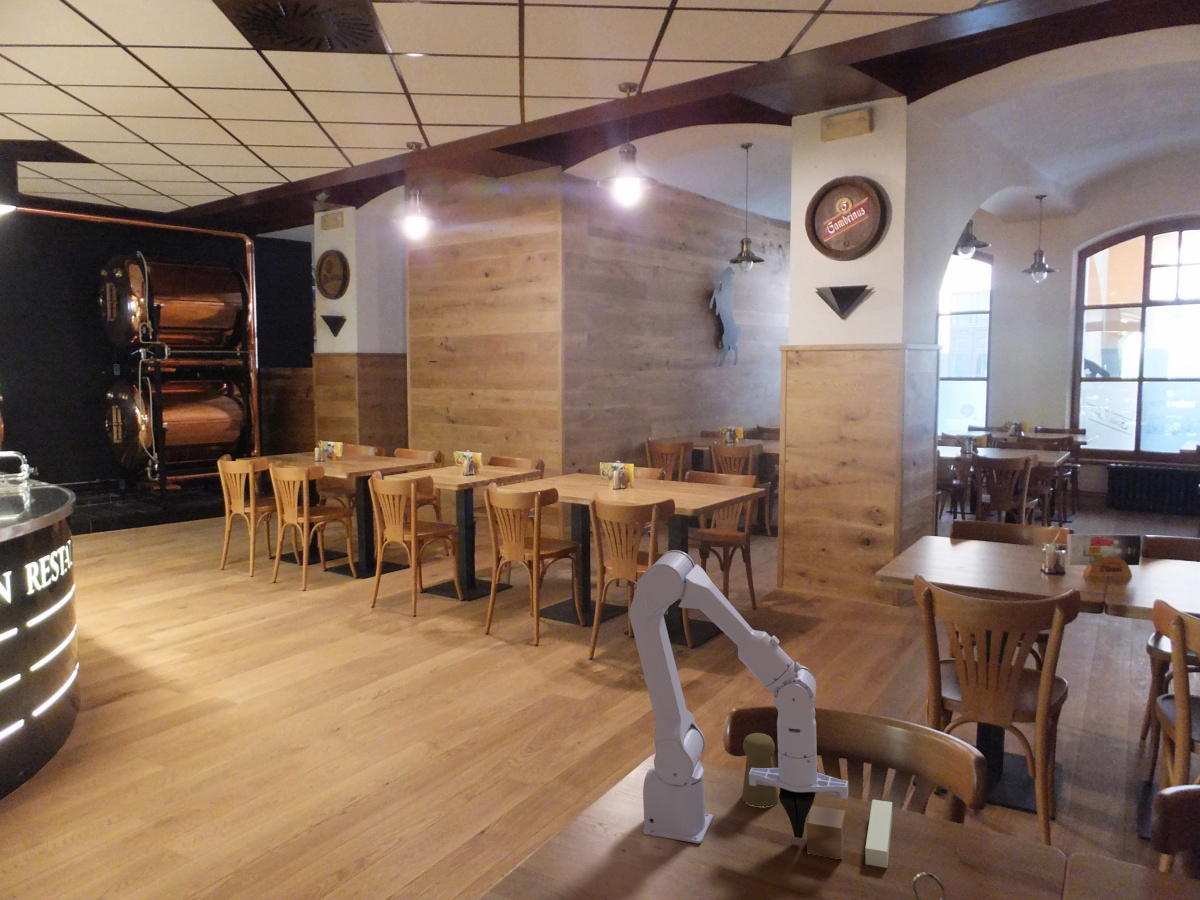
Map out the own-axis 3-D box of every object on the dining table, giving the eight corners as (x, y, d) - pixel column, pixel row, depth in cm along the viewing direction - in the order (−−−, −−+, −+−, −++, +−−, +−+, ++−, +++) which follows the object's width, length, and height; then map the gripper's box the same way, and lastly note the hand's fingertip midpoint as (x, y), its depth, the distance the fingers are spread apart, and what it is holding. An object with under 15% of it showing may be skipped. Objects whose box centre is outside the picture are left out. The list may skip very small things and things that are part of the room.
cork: (778, 809, 138) (777, 745, 137) (741, 807, 140) (739, 744, 138) (778, 790, 144) (777, 729, 143) (742, 788, 146) (740, 727, 144)
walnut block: (807, 854, 126) (806, 822, 125) (812, 835, 131) (811, 805, 130) (841, 860, 124) (841, 828, 123) (845, 841, 129) (845, 810, 128)
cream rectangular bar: (865, 864, 123) (865, 848, 123) (872, 814, 136) (872, 799, 135) (887, 868, 122) (887, 851, 121) (892, 817, 135) (892, 802, 134)
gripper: (849, 743, 128) (851, 827, 130) (754, 732, 134) (756, 813, 135) (844, 765, 122) (846, 853, 123) (745, 752, 127) (747, 837, 129)
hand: (799, 834), depth 129 cm, fingers closed
